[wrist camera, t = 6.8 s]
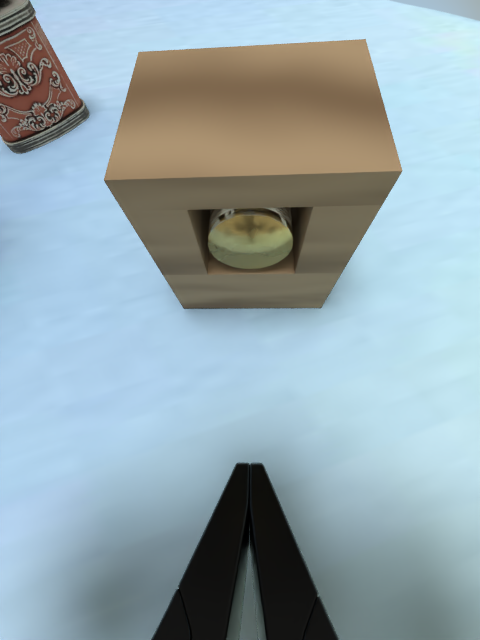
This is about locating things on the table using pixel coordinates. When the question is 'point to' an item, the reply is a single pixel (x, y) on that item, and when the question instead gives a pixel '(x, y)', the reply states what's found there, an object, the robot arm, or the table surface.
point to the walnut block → (253, 163)
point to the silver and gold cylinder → (250, 236)
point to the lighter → (32, 83)
